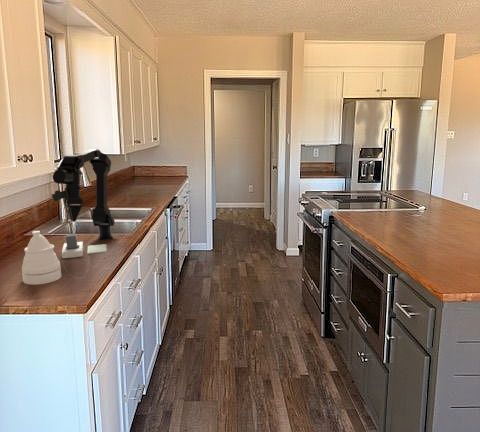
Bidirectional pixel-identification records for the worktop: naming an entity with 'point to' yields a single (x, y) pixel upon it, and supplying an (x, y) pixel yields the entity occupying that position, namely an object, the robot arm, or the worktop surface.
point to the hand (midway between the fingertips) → (73, 221)
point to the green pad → (96, 249)
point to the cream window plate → (72, 251)
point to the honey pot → (40, 261)
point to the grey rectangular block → (71, 241)
